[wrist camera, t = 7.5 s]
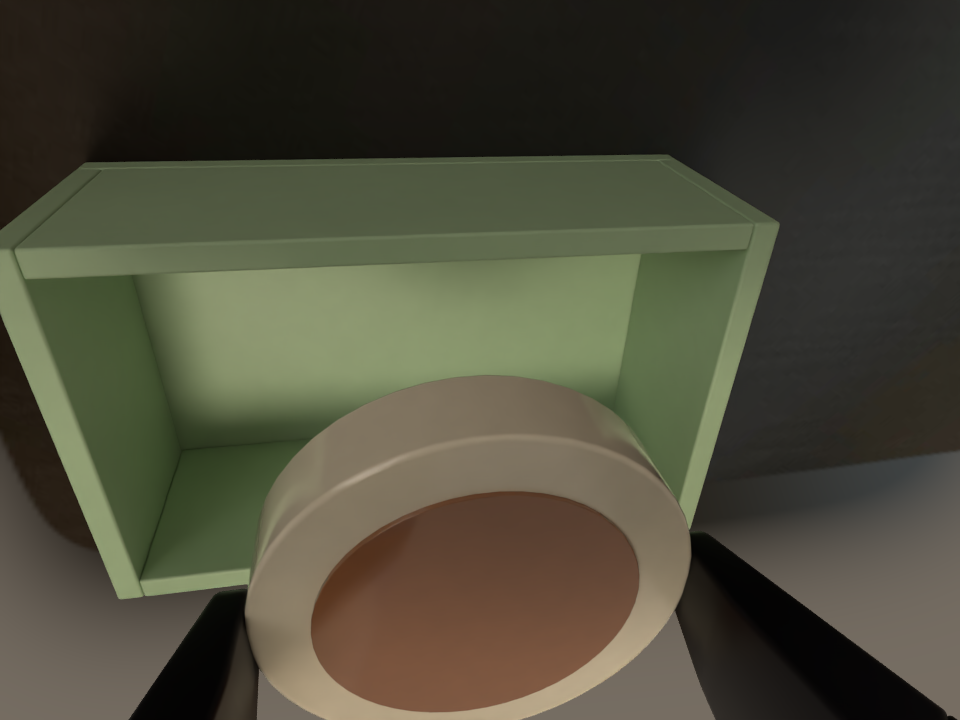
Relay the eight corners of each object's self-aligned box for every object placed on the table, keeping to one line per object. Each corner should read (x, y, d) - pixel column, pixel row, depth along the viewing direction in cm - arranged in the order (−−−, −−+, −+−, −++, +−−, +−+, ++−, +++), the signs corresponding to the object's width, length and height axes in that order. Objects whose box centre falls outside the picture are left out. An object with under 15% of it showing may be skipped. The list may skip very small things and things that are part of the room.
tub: (169, 452, 20) (118, 601, 16) (83, 161, 15) (-29, 250, 11) (620, 414, 23) (690, 531, 18) (668, 153, 18) (781, 222, 13)
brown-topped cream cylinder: (227, 623, 10) (207, 741, 9) (310, 306, 8) (301, 395, 6) (553, 645, 12) (583, 743, 11) (710, 398, 10) (780, 483, 8)
